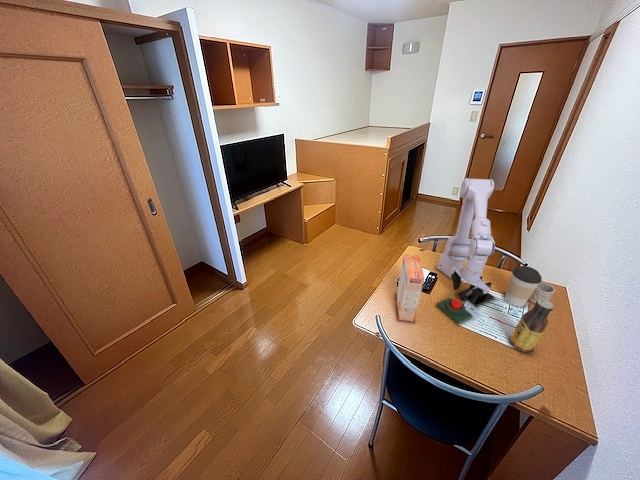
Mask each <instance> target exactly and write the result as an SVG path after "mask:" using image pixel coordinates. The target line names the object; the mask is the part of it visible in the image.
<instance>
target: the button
mask: <svg viewBox="0 0 640 480" xmlns="http://www.w3.org/2000/svg"><path fill="white" fill-rule="evenodd" d="M462 304H463V302H461V300H458V299H453V300H452V301H451V304H450V306H451V307H452V308H453V309H455V310H460V309H461V306H462Z"/></svg>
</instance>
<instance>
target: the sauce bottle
mask: <svg viewBox="0 0 640 480" xmlns="http://www.w3.org/2000/svg"><path fill="white" fill-rule="evenodd" d="M554 308H555V305H554V303H552V302H551V300H549V301H548V300H546V299H538V300H537V301H536V302H535V303H534V306H533V307H532V309H530V310H528V311H527V312H525V313H523V314H522V316H521V318H520V319H519V321H518V322H517V324H516V327H515V328H514V330H513V331H512V334H511V336H510V339H509V341H510V344H511V346H512V347H513V348H515V349H516V350H518V351H520V352H525V353H527V352H530V351H531V350H533V348H535V345H536V344H537V342H538V341H539V339H540V338H541V337H542V335H543V333H544V332H545V330H546V328H547V327H548V325H549V319H548V317H549V314H550V313H551V312H552V311H553V310H554Z"/></svg>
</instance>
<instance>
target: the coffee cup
mask: <svg viewBox="0 0 640 480" xmlns="http://www.w3.org/2000/svg"><path fill="white" fill-rule="evenodd" d="M542 278H543V277H542V275H541V274H540V272H539V271H538V270H537V269H535V268H533V267H531V266H527V265H520V266H516V267H514V269H513V270H512V272H511V275H510V278H509V281H508V285H507V288H506V291H505V295H504V299H505V300H506V302H507V303H509V304H510V305H512V306H516V307H523V306H525V305H526V303H527V302H528V300H529V298H530V297H531V295H532V294H533V292H534V291H535V290H536V288H537V287H538V284H539V283H540V282H543V281H542V280H543V279H542Z"/></svg>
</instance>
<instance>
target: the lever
mask: <svg viewBox="0 0 640 480" xmlns="http://www.w3.org/2000/svg"><path fill="white" fill-rule="evenodd" d="M482 281H483V282H484V283H485V284H486V283H487V281H485V280H483V279H482ZM475 288H477V287H476V286H475V287H474V288H473V289H475ZM473 289H471V290H470V291H469V292H467V293H466V294H462V295H460V294H459V299H460V301H462V302H465V301H468V300H467V297H468V296H470V295H471V294H472V290H473Z"/></svg>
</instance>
